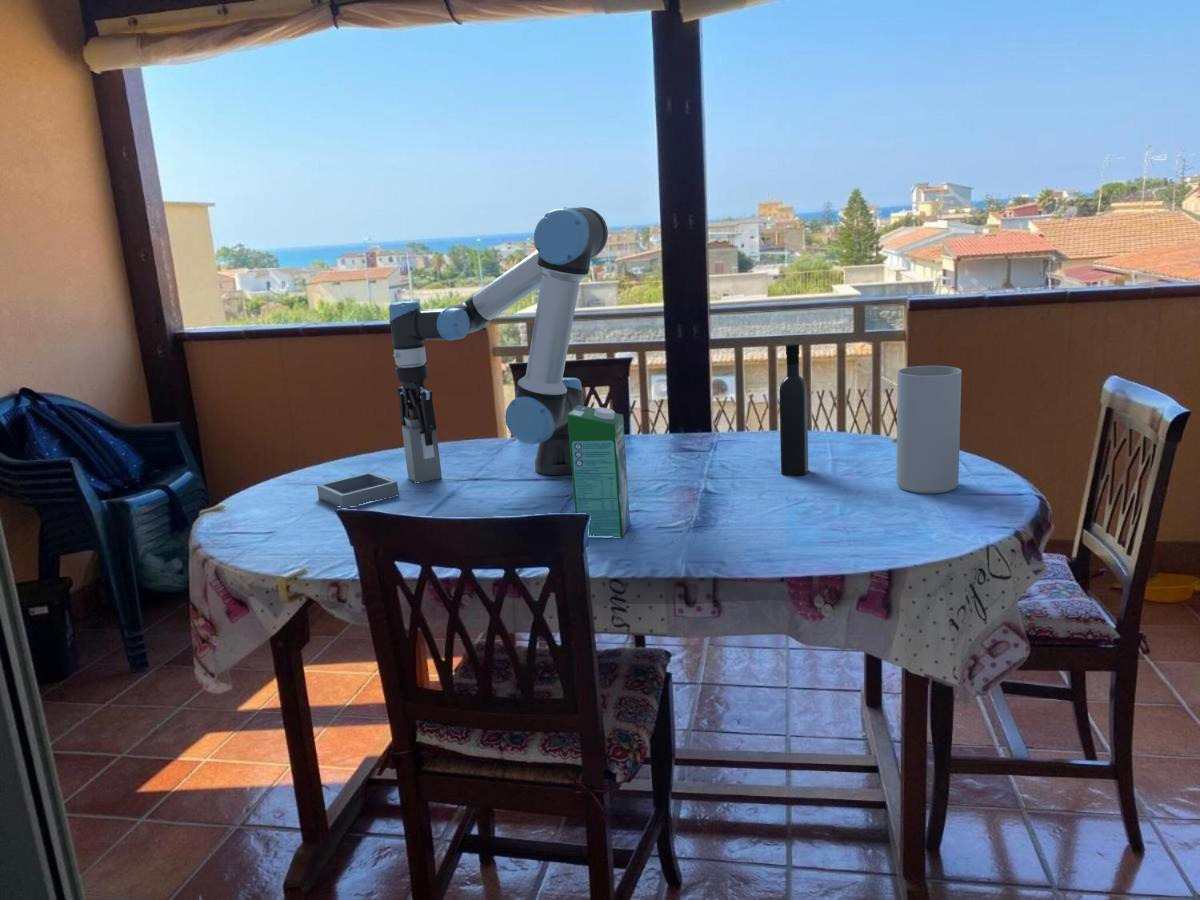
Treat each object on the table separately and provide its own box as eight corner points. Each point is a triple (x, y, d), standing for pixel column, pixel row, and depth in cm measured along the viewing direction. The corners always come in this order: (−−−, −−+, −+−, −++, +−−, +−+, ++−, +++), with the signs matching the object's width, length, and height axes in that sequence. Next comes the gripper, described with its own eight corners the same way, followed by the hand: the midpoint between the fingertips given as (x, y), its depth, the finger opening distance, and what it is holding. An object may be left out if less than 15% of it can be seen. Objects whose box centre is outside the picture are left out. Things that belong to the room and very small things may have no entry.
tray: (399, 495, 214) (397, 481, 214) (343, 510, 206) (341, 495, 205) (372, 485, 225) (370, 472, 224) (319, 499, 216) (316, 485, 216)
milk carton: (622, 538, 175) (613, 412, 169) (577, 538, 176) (567, 413, 170) (630, 523, 183) (622, 402, 177) (586, 523, 185) (577, 404, 179)
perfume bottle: (415, 483, 224) (407, 412, 220) (408, 477, 230) (399, 408, 226) (441, 478, 227) (433, 408, 223) (433, 472, 233) (425, 404, 229)
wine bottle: (780, 475, 209) (777, 346, 202) (784, 468, 214) (782, 342, 207) (805, 476, 207) (803, 346, 199) (809, 469, 212) (807, 342, 205)
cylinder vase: (967, 482, 194) (971, 367, 187) (943, 498, 185) (946, 377, 179) (911, 475, 202) (913, 364, 196) (886, 489, 193) (887, 374, 187)
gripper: (379, 364, 226) (391, 453, 232) (416, 370, 212) (427, 464, 218) (406, 359, 231) (416, 447, 237) (444, 365, 217) (454, 458, 222)
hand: (422, 455), depth 227 cm, fingers closed on perfume bottle, 6 cm apart
